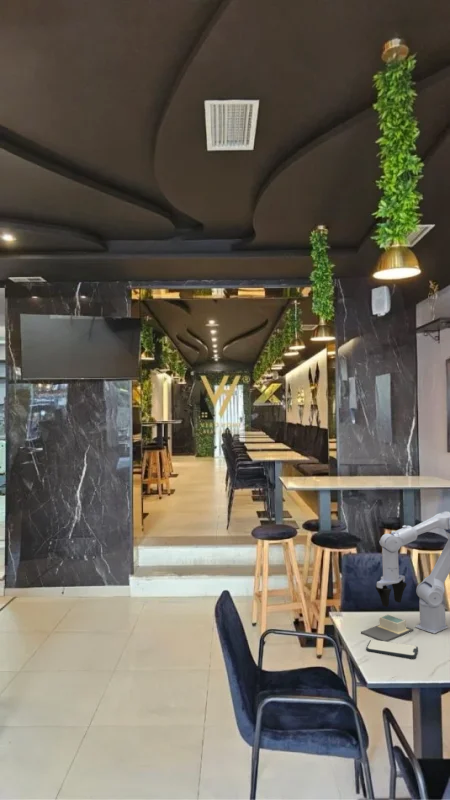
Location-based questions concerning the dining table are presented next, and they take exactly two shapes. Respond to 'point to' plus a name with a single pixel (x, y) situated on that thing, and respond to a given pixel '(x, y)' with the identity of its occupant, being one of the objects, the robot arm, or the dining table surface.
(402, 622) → the card box
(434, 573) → the robot arm
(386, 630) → the mat
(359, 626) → the dining table surface
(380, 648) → the phone case
